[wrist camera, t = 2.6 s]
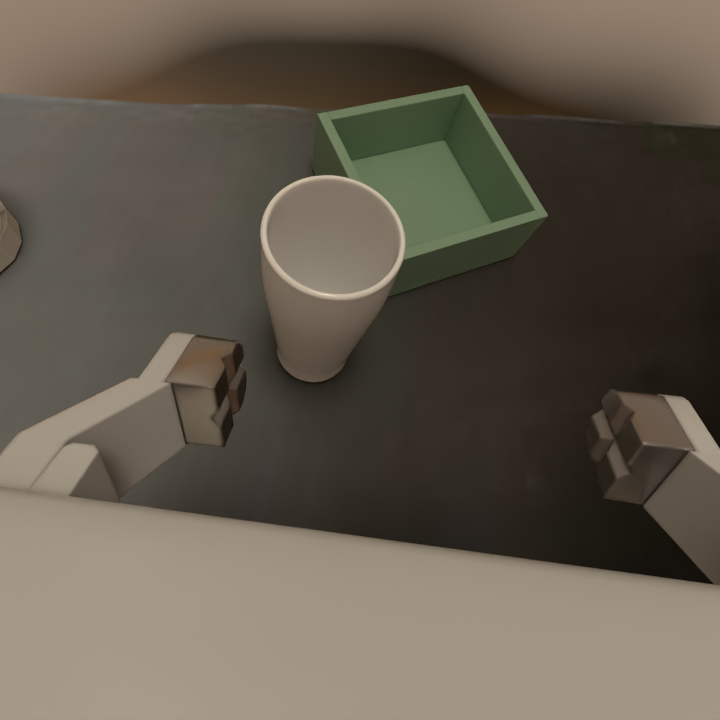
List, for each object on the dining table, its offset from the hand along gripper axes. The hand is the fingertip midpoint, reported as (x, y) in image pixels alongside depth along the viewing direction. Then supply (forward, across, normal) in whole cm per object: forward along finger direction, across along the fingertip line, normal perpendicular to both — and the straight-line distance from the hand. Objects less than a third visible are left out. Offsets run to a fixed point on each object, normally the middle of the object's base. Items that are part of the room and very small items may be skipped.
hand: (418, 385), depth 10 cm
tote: (+32, -1, +9) cm, 33 cm away
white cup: (+19, +6, +15) cm, 25 cm away
